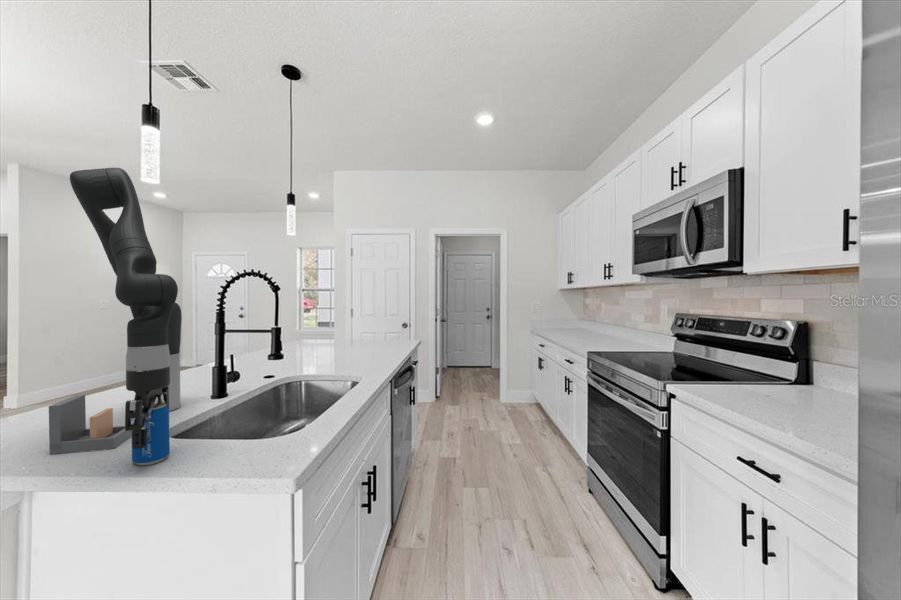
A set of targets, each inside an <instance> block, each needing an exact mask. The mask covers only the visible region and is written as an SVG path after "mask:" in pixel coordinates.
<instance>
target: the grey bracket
mask: <svg viewBox="0 0 901 600" xmlns="http://www.w3.org/2000/svg"><path fill="white" fill-rule="evenodd" d="M86 413H87V412H86V395H85V394H77V395H76V394H75V395H73V396H71V397H67V398H66V399H63V400H61V401H58V402H56V403H53V404H51V405H48V436H49V437H48V438H49V439H48V440H49V444H48V445H49V455H50V454H53V455H57V454H56V453H64V454H70V453H69V452H74V453H82V452H81V451H85V452H92V451H91V450H96V451H105V450H104V449H107V450H114V449H116V448H118V447H119V446H120V445H122V444H123V443H124V442H125V441H127V440H129V439H130V438H132V431H125V425H117V426H116V425H115V426H114V425H113V433H112V434H110V435H109V436H107V437H105V438H98V439H90V427H89V428H88V427H87V423H86V419H87V417H86V415H87V414H86ZM86 427H87V428H86Z"/></svg>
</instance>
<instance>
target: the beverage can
mask: <svg viewBox="0 0 901 600" xmlns="http://www.w3.org/2000/svg"><path fill="white" fill-rule="evenodd" d="M146 413H148V412H143V414H146ZM131 422H132V419H131ZM142 422H143V420H142ZM146 430H147V445H146V446H145V447H144V448H138V449H134V448H133V447H132V446H131V462H132V463H134V464H136V465H137V466H150V465H154V464H157V463H160V462H162V461H164V460H165V459H166V457H168V456H170V447H171V446H170V411H169V408H168V407H167V406H166V403H165V402H163V404H159V405H157V406H156V408H154V411H153V415H152V418H151V419H149V420H148V423H147V427H146Z"/></svg>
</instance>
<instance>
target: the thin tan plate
mask: <svg viewBox="0 0 901 600" xmlns="http://www.w3.org/2000/svg"><path fill="white" fill-rule="evenodd" d="M113 411H114V410H113V407H111V408H109V407H108V408H105V409H103V410H101V411H99V412H98V413H95V414H93V415H92V416H90V417H89V428H90V439H98V438H105V437H107V436H109V435H110V434H112V433H113V427H114V416H113V415H114V412H113Z"/></svg>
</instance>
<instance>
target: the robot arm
mask: <svg viewBox="0 0 901 600" xmlns="http://www.w3.org/2000/svg"><path fill="white" fill-rule="evenodd" d="M69 182H70V185H71V189H72V190H73V192H74V195H75V196H76V198H77V201H78V202H79V203H80V205H81V208H82V209H83V210H84V213H85V214H86V216H87V218H88V220H89V221H90V224H91V225H92V227H93V229H94V231H95V232H96V234H97V236H98V238H99V240H100V242H101V245H102V248H103V250H104V252H105V254H106V257H107V259H108V261H109V264H110V265H111V268H112V270H113V272H114V273H115V276H116V282H115V291H114V292H115V298H116V299H117V300H118V301H119V302H120V303H121V304H122V305H124V306H126V307H129V309H130V311H131V315H132V317H133V318H132V319H130V320H129V321H128V322H127V325H126V345H127V346H126V355H125V388H126V389H125V390H127V391H130V392H134V393H135V394H134V399H132V400H126V401H125V408H124V409H125V412H124V414H125V415H124V419H125V420H124V426H125V431H132V436H131V448H132V447H133V448H134V449H138V448H144V447H145V446H146V445H147V430H146V427H147V423H148V420H149V419H151V418H152V415H153V411H154V408H156V406H157V405H159V404H163V402H165V403H166V406H167V407H168V408H169V412H171V411H174V410H177V409H180V408H181V359H180V357H181V354H180V353H181V352H180V351H181V342H182V341H181V338H182V337H181V336H182V317H183V315H182V309H181V306H180V305H179V303H178V302H177V297H178V294H179V288H178V284H177V282H176V280H175V279H174V277H173V276H171V275H168V274H164V273H157V262H158V261H157V258H156V255H155V253H154V251H153V248H152V246H151V243H150V242H149V241H150V240H149V239H148V235H147V233H146V228H145V223H144V216H143V214H142V209H141V205H140V202H139V198H138V194H137V191H136V188H135V186H134V183H133V181H132V179H131V176H130V175H129V174H128V173H127V171H126V170H125V169H123V168H121V167H103V168H92V169H81V170H79V169H78V170H75V171H72V172H71V173H70V174H69ZM120 208H122V211H121V213H120V216H119V218H118V219H117V221H116V223H115V222H114V221H113V220H112V219H111V218H110V217H109V216H108V214H106V213H105V212H104V210H111V209H120ZM143 412H148V413H146V414H143ZM131 419H132V422H131ZM142 420H143V422H142Z"/></svg>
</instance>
